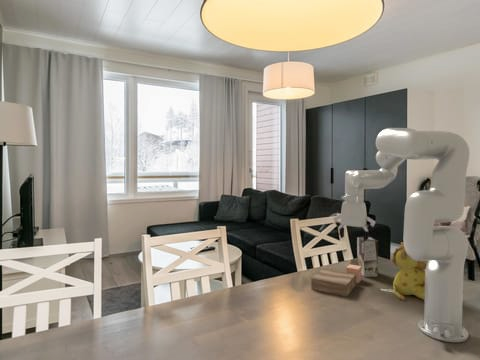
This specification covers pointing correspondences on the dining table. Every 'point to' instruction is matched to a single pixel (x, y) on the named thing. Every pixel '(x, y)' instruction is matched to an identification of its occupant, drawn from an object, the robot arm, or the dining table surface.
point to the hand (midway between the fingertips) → (353, 238)
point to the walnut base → (333, 282)
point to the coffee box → (367, 256)
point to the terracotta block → (354, 271)
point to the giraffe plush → (408, 275)
